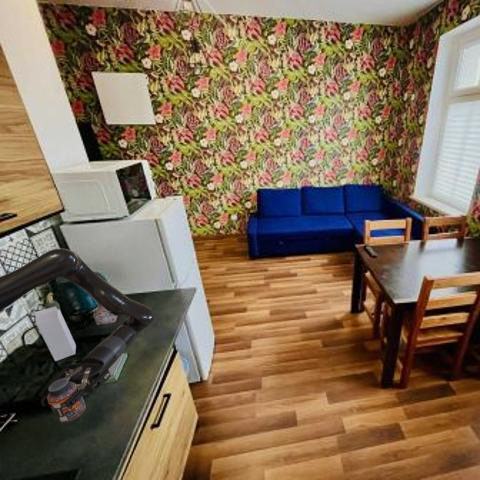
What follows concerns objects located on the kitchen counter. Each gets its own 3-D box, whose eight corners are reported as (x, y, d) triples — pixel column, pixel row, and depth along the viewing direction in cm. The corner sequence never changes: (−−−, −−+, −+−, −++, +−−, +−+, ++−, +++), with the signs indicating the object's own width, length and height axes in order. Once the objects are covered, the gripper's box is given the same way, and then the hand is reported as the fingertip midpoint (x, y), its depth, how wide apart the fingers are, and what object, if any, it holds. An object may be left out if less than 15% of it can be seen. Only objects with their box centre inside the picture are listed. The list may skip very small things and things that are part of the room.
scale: (75, 391, 92) (72, 385, 90) (91, 364, 102) (88, 358, 101) (117, 382, 95) (114, 376, 94) (128, 357, 106) (126, 351, 104)
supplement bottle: (69, 426, 71) (53, 397, 67) (52, 421, 72) (35, 392, 68) (92, 405, 76) (78, 377, 72) (76, 401, 78) (61, 372, 73)
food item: (118, 323, 124) (111, 306, 120) (96, 329, 120) (89, 311, 116) (122, 307, 135) (116, 291, 131) (102, 312, 131) (96, 295, 127)
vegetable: (57, 336, 116) (39, 298, 108) (56, 332, 118) (38, 294, 111) (71, 331, 119) (53, 293, 111) (69, 327, 121) (52, 289, 114)
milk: (76, 355, 106) (55, 310, 98) (55, 363, 103) (32, 316, 94) (76, 346, 111) (56, 302, 102) (56, 353, 107) (34, 308, 99)
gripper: (79, 344, 84) (22, 393, 68) (124, 346, 83) (76, 396, 68) (87, 362, 86) (34, 413, 71) (130, 364, 86) (86, 415, 71)
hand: (55, 404), depth 69 cm, fingers closed on supplement bottle, 6 cm apart
